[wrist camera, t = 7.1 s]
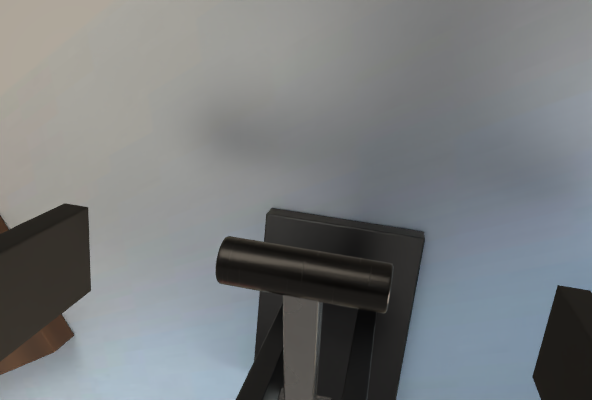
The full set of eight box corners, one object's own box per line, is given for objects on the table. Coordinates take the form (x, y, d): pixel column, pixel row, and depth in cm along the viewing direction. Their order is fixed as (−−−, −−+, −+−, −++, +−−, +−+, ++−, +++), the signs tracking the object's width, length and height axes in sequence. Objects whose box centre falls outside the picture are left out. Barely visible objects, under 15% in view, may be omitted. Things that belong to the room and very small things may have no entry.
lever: (233, 215, 16) (206, 272, 14) (396, 241, 15) (389, 305, 13) (251, 412, 24) (235, 465, 22) (360, 436, 23) (352, 493, 21)
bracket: (271, 207, 31) (185, 307, 19) (424, 231, 29) (437, 356, 17) (256, 378, 34) (176, 554, 22) (392, 407, 33) (385, 612, 21)
